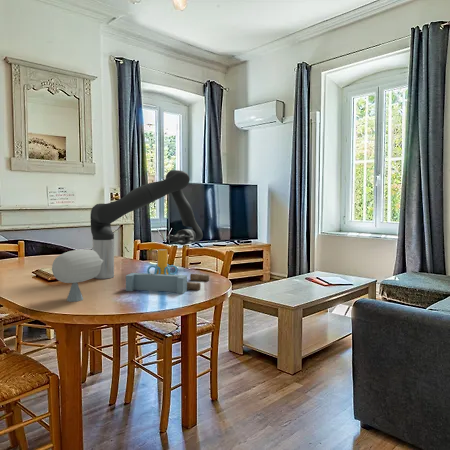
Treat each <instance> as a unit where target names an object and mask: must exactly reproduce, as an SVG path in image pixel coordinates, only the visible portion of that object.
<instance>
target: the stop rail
mask: <svg viewBox="0 0 450 450" xmlns="http://www.w3.org/2000/svg"><path fill="white" fill-rule="evenodd" d="M187 282H188V275H184V274H183V275H182V274H175V275H167V274H154V273H151V274H148V273H147V272H146V273H140V272H131V273H129V274H126V275H125V292H133V291H135V290H137V291H152V292H153V291H155V292H157V291H158V292H174V293H175V292H176V295H177V294H178V295H184V294H185V293H186V292H187V291H188V290H187Z"/></svg>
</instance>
